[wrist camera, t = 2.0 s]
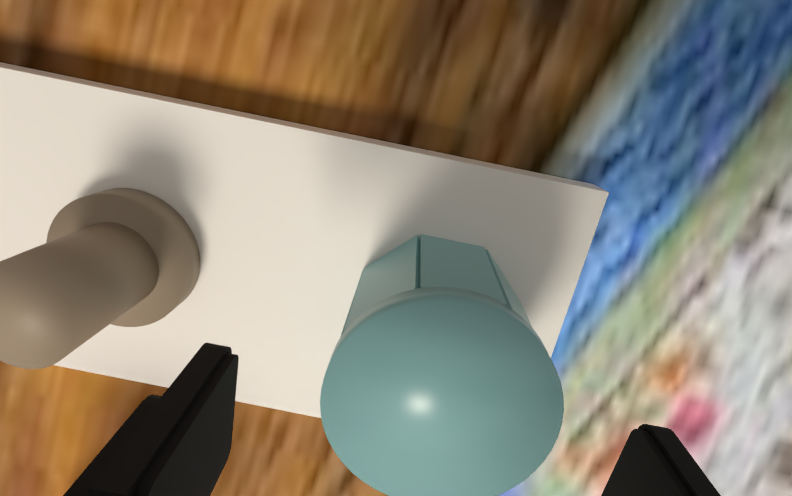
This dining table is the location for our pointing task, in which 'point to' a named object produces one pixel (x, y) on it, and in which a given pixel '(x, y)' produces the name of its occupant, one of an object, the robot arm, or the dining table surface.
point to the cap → (440, 377)
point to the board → (237, 233)
